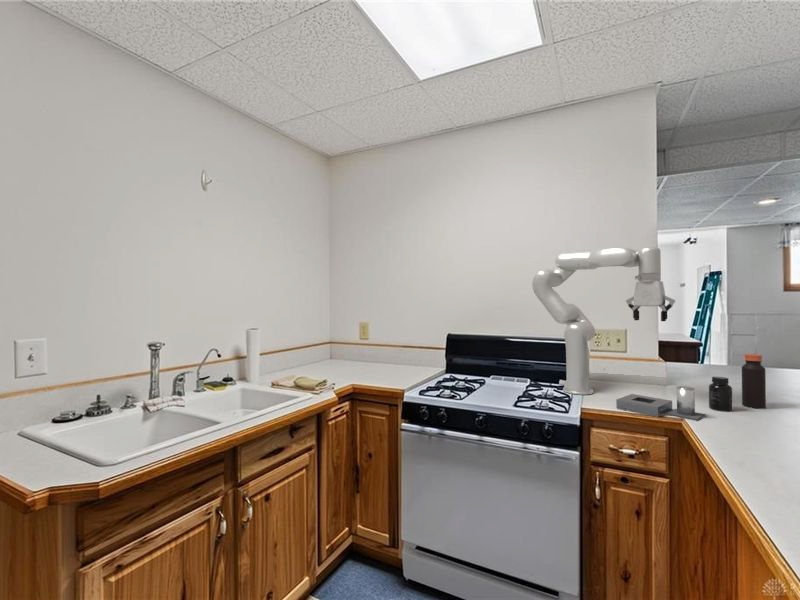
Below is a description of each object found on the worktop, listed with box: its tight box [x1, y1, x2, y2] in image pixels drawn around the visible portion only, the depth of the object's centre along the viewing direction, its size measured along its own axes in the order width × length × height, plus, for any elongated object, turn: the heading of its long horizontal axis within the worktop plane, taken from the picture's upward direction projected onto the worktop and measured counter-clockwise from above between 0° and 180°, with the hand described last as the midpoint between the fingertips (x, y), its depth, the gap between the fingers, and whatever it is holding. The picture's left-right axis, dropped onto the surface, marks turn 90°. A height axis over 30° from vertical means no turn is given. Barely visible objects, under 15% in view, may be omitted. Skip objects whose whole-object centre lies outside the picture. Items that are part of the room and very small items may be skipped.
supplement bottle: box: [708, 376, 733, 412], centre depth 146 cm, size 7×7×12 cm
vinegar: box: [741, 353, 767, 409], centre depth 149 cm, size 7×7×20 cm
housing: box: [615, 393, 673, 418], centre depth 147 cm, size 14×14×4 cm
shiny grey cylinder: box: [676, 385, 696, 416], centre depth 139 cm, size 5×5×9 cm
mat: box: [666, 408, 706, 422], centre depth 139 cm, size 9×9×1 cm
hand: (649, 320), depth 156 cm, fingers open, 9 cm apart
